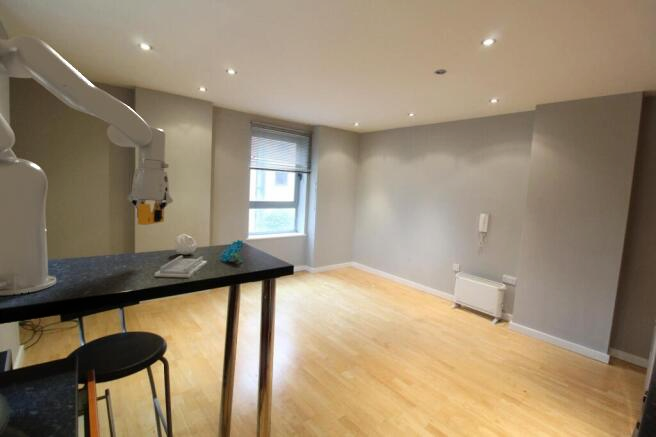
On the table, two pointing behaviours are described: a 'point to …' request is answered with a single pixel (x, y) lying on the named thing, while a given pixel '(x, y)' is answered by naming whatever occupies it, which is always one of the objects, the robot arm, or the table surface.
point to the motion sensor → (185, 244)
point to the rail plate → (181, 267)
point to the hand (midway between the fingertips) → (149, 220)
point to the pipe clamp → (147, 214)
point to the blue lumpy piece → (232, 251)
